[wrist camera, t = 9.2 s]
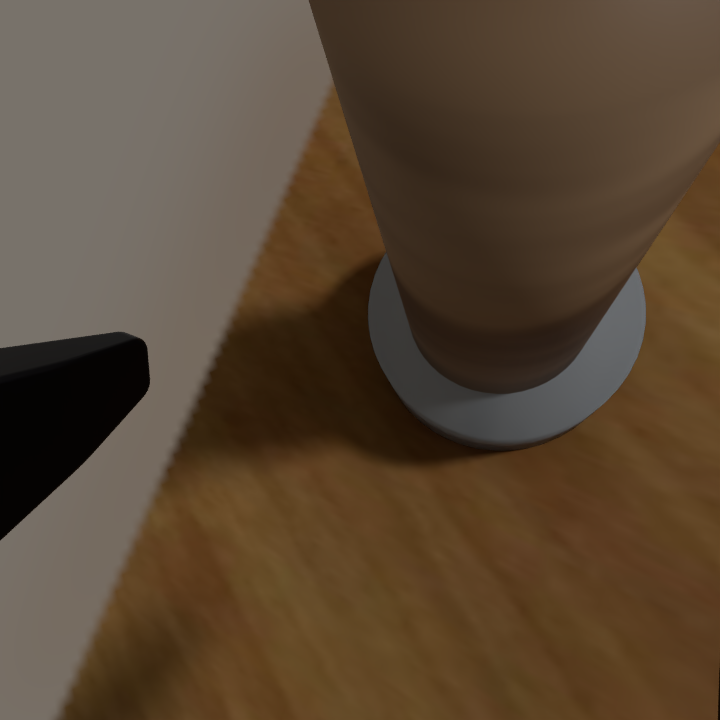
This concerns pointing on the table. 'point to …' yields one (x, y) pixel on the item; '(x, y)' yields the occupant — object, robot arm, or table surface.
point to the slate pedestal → (514, 410)
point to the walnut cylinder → (521, 160)
